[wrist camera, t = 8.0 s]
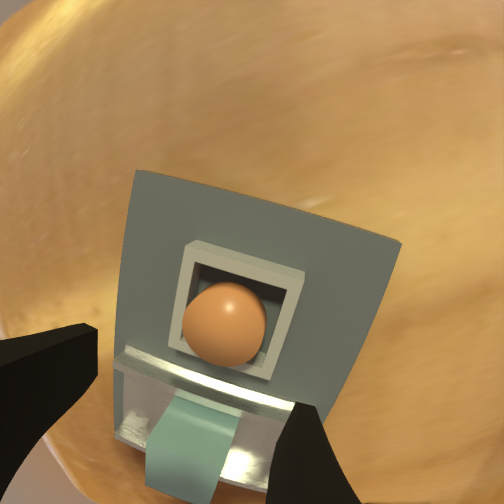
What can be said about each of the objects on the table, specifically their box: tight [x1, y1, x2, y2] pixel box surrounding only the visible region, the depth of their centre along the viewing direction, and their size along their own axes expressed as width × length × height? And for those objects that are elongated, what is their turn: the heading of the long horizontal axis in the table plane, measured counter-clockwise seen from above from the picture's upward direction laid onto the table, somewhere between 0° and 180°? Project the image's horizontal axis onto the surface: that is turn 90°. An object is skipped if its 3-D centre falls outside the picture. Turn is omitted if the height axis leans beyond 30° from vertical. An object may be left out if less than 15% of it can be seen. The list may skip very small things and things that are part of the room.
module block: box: [145, 395, 240, 504], centre depth 16 cm, size 5×4×5 cm
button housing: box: [168, 240, 305, 380], centre depth 16 cm, size 6×6×2 cm
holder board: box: [113, 170, 402, 431], centre depth 18 cm, size 20×14×1 cm
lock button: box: [182, 282, 267, 367], centre depth 14 cm, size 4×4×2 cm
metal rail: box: [113, 342, 316, 493], centre depth 18 cm, size 8×12×2 cm
